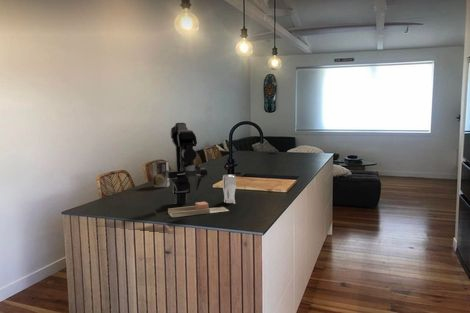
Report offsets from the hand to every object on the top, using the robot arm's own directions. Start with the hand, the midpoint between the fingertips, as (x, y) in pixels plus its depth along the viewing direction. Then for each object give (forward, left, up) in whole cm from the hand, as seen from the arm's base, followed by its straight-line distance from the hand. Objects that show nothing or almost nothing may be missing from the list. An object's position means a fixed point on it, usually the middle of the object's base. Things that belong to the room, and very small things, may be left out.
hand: (187, 191), depth 182 cm
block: (-1, +7, -11) cm, 13 cm away
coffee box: (-75, +4, -12) cm, 76 cm away
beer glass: (-14, +27, -12) cm, 32 cm away
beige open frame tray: (-1, +6, -12) cm, 13 cm away
